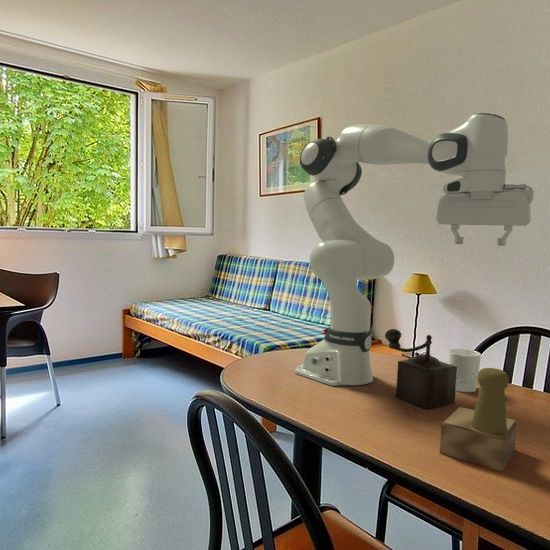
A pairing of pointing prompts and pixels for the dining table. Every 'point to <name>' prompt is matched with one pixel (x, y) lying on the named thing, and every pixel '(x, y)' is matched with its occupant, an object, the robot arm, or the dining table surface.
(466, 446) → the walnut block
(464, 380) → the white cup
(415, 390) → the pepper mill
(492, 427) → the olive knobbed peg
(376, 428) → the dining table surface
